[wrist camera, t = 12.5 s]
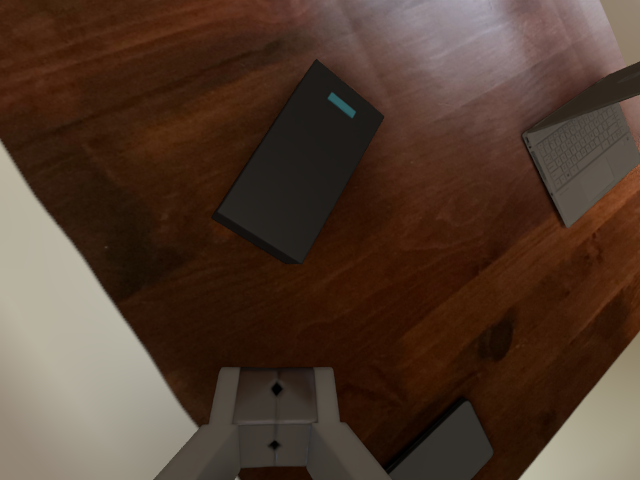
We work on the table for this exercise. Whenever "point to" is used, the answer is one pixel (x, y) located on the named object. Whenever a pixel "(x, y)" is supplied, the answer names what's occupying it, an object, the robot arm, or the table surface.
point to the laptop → (586, 144)
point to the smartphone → (446, 449)
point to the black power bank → (300, 166)
